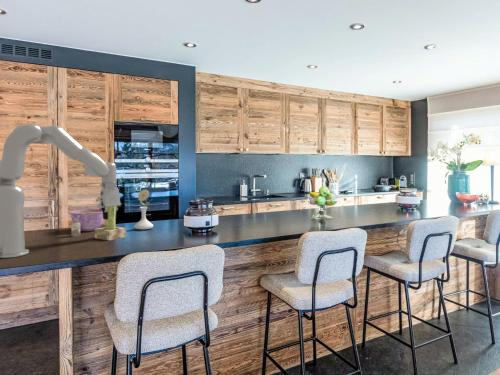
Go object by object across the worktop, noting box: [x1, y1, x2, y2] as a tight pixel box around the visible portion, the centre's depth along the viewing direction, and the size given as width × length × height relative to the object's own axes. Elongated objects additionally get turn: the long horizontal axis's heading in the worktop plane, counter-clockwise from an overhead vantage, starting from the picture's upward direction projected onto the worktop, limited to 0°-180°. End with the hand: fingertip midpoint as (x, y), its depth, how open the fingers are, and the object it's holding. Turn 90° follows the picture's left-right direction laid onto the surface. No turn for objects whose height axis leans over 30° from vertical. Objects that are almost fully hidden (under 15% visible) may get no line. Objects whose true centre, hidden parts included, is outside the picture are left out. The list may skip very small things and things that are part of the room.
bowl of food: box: [69, 208, 105, 232], centre depth 218 cm, size 20×20×12 cm
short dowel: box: [70, 222, 81, 238], centre depth 200 cm, size 4×4×7 cm
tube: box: [104, 206, 117, 230], centre depth 195 cm, size 6×5×20 cm
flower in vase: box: [133, 189, 154, 230], centre depth 220 cm, size 13×11×25 cm
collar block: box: [94, 226, 127, 241], centre depth 196 cm, size 11×12×5 cm
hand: (110, 218), depth 195 cm, fingers closed on tube, 5 cm apart
